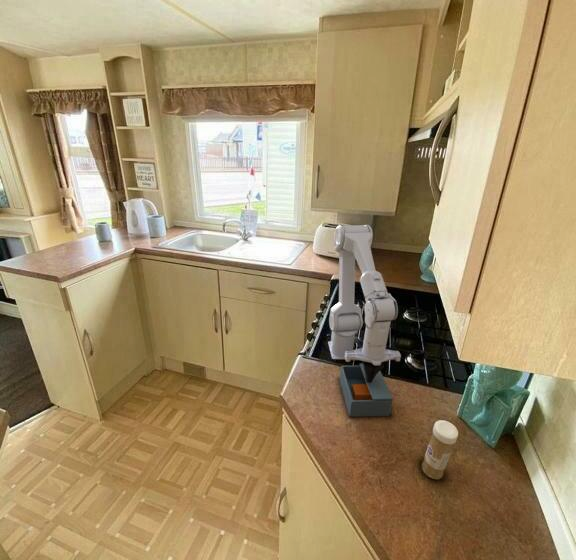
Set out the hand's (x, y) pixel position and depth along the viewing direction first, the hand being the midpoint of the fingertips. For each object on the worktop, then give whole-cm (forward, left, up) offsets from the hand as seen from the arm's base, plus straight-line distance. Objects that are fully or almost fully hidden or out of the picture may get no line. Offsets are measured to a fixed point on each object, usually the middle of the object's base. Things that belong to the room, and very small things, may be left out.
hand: (368, 380), depth 87 cm
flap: (0, +2, 0) cm, 2 cm away
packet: (0, -1, -6) cm, 6 cm away
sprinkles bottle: (+22, +9, -6) cm, 25 cm away
